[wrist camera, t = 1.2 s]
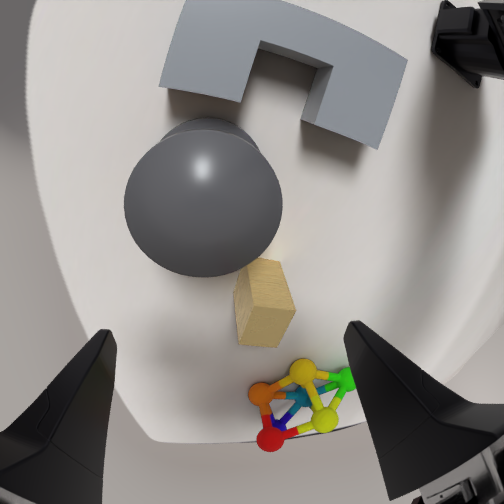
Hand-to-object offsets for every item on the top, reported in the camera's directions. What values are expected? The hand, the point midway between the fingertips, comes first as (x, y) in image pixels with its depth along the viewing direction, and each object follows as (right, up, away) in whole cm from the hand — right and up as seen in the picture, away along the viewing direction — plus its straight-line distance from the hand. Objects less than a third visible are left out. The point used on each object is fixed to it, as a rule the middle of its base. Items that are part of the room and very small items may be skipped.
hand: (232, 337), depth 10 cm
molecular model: (+6, -13, +25) cm, 29 cm away
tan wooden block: (+1, +1, +15) cm, 15 cm away
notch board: (+3, +15, +6) cm, 17 cm away
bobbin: (-2, +9, +10) cm, 13 cm away
